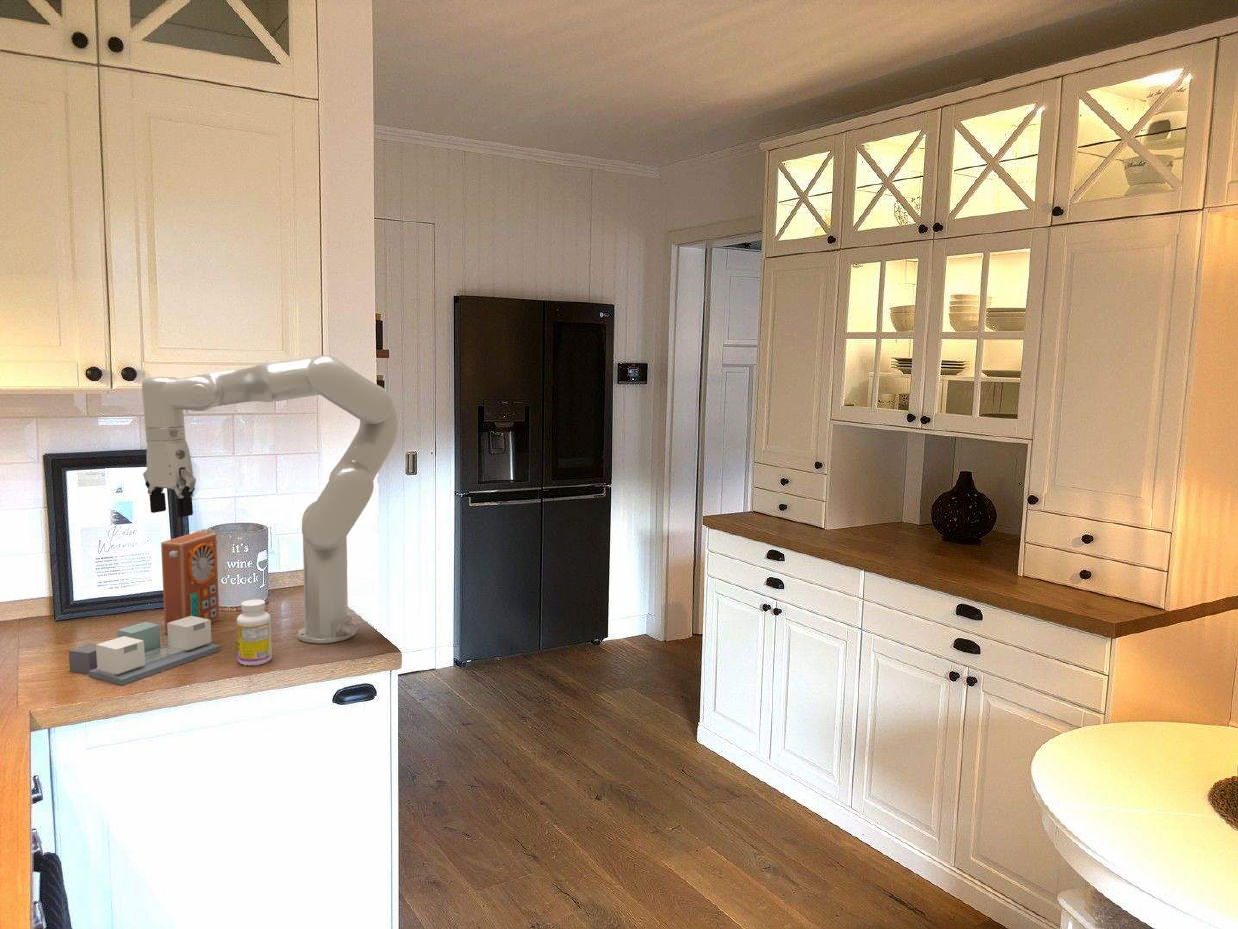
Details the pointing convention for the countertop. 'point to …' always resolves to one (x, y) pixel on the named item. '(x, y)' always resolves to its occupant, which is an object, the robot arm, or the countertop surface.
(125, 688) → the countertop surface
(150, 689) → the countertop surface
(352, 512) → the robot arm
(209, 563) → the control panel
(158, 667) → the board
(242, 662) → the supplement bottle
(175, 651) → the rail
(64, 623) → the countertop surface
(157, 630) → the module
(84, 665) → the block
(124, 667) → the mounted modules
